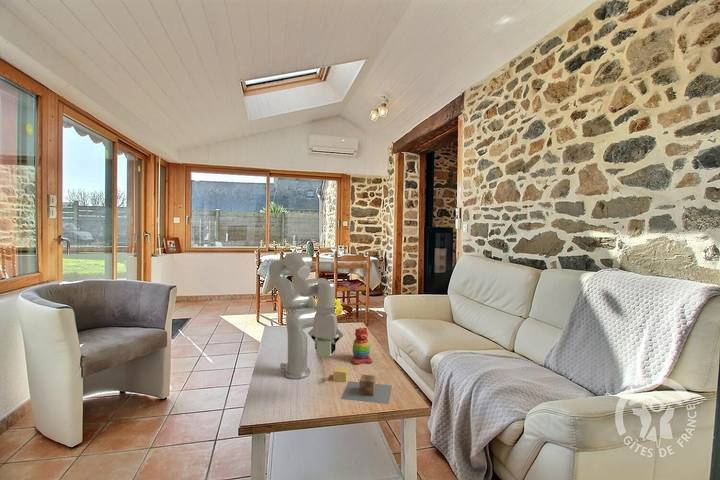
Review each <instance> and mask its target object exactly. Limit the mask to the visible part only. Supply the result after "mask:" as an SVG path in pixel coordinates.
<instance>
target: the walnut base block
mask: <svg viewBox="0 0 720 480" xmlns="http://www.w3.org/2000/svg"><path fill="white" fill-rule="evenodd" d="M359 382H360V383H359V395H369V396H373V395H374V392H375V384H376V375H370V374H361V375H360V378H359Z"/></svg>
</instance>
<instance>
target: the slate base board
mask: <svg viewBox="0 0 720 480" xmlns="http://www.w3.org/2000/svg"><path fill="white" fill-rule="evenodd" d="M347 381H348V382H347V383H346V386H345V389H344V391H343V393H342V394H341V397H340V400H346V401H347V400H349V401H356V402H366V403H375V404H376V403H377V404H384V405H385V404H386V405H390V400H391V393H392V388H393V385H392V384H383V383H382V384H381V383H375V392H374V395H373V396H369V395H359V383H360V381H351V380H350V381H349V380H347Z"/></svg>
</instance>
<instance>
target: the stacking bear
mask: <svg viewBox="0 0 720 480" xmlns="http://www.w3.org/2000/svg"><path fill="white" fill-rule="evenodd" d="M354 334H355V338H354V341H353V344H352V354H353V357H352V359H351V363H352V364H353V365H355V366H358V365H362V364H367V365H369V364H372V363H373V359H372V358H371V357H370V352H371V351H370V350H371V349H370V348H371V347H370V346H371V345H370V342H369V339H368V335H369V333H368V329H367V328H366V327H364V328H363V327H359V328H355V331H354Z"/></svg>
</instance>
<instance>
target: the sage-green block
mask: <svg viewBox="0 0 720 480" xmlns="http://www.w3.org/2000/svg"><path fill="white" fill-rule="evenodd" d="M331 344H332V341H331V338H319V339H318V340H317V349H315V352H316V356H321V357H331V356H332V354H333V353H331Z"/></svg>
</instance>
